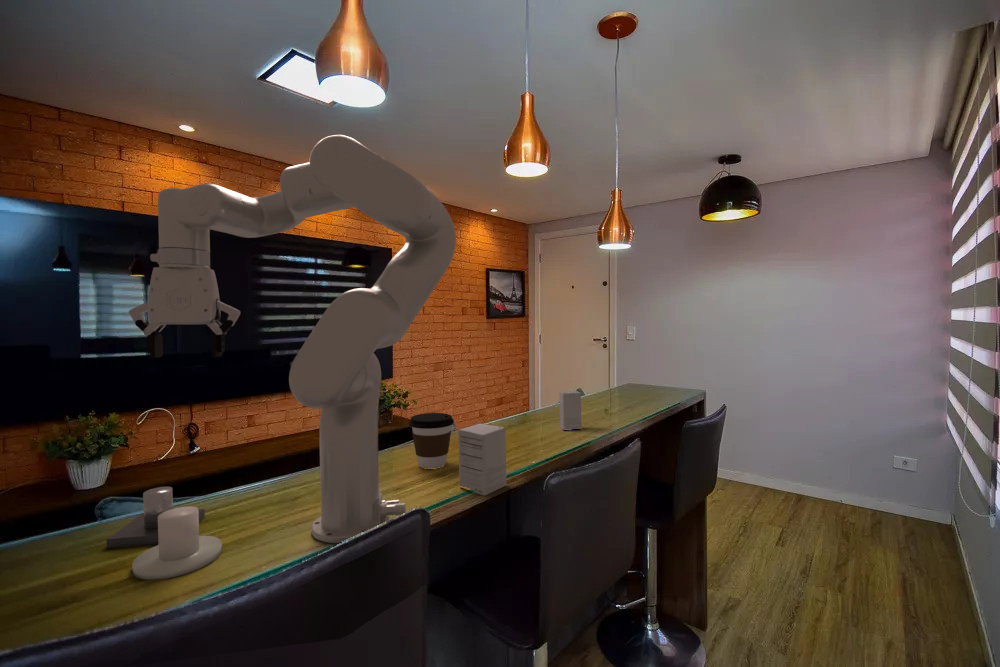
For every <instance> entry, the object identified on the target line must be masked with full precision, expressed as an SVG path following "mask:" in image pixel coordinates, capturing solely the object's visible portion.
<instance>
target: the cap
mask: <svg viewBox="0 0 1000 667" xmlns="http://www.w3.org/2000/svg"><path fill="white" fill-rule="evenodd" d="M198 509H199V508H198V507H197V506H192V505H191V506H181V507H175V508H173V509H171V510H168V511H165V512H163V513H161V514H160V515H159V516H158V544H157V545H159V559H160V560H161V561H175V560H180V559H184V558H186V557H189V556H191V555H193V554H195V553H196V552H197V551H198V550H199V536H200V522H199V513H198Z"/></svg>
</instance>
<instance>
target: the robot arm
mask: <svg viewBox="0 0 1000 667" xmlns="http://www.w3.org/2000/svg"><path fill="white" fill-rule="evenodd" d="M279 185H280V186H279V187H280V190H279V191H277V192H274V193H271V194H267V195H262V196H257V197H250V196H248V195H245V194H242V193H241V192H240V193H239V192H238V191H235V190H232V189H228V188H226V187H223V186H220V185H218V184H214V183H202V184H196V185H194V186H190V187H186V188H178V187H170V188H169V187H168V188H165V189H162V190H161V191H159V194H158V196H157V212H158V215H157V216H158V220H157V221H158V249H157V253H151V254H150V256H149V257H150V261H151V262H156V263H157V264H158V266H159V267H158V266H156V267H155V266H154V267H153V269H152V273H151V276H150V282H149V283H150V284H149V290H148V300H147V301H146V302H145V303H142V304H140V305H138V306H135V307H134V308H131V309H129V310H128V314H129V316H130V318H131V319H132V321H133V322H134V325H135V326H136V327H137V328H138V329H140V331H142V332H143V334H144V335H145V336H146V339H147V340H146V343H147V345H146V346H147V347H146V348H147V349H146V350H147V353H148V354H149V358H150V359H157V358H162V357H164V339H163V338H164V336H163V335H162V334H160V332H161V331H162V330H163V329H164V328H165V327H166V326H167V325H206V326H207V327H209V328H210V329H211V331H212V332H213V334H212V335H211V341H210V343H211V344H210V345H211V346H210V347H211V357H212V358H219V357H222V356H223V353H225V351H226V350H225V347H226V341H225V335H226V334H227V333H228V331H230V330H231V329H232V328H233V327H234V326H235V325H236V322H237V321H238V319H239V317H240V316H241V310H239V309H237V308H235V307H233V306H231V305H229V304H226V303H224V302H222V301H221V300H220V293H219V291H220V290H219V287H218V281H217V277H216V273H215V270H214V269H212V268H211V240H210V239H211V238H210V237H211V236H210V234H211V233H210V232H211V230H212V231H215V232H221V233H225V234H229V235H233V236H236V237H240V238H247V239H251V238H260V237H267V236H272V235H274V234H275V235H276V234H279V233H283V232H287V231H289V230H292V229H294V228H295V227H296V226H298V225H300V224H302V222H304V221H305V219H309V218H312V217H316V216H320V215H324V214H328V213H333V212H339V211H342V210H349V209H352V208H356V209H357V210H359V211H360V212H361V213H363V214H365V215H366V216H368V217H369V218H371V219H373V220H374V221H375V222H377V223H378V224H380V225H382V226H383V227H385V228H386V229H388V230H391V231H393V232H395V233H396V234H398V235H401V236H403V237H404V238H405V243H404V246H403V247H401V249H400V250H399V251H397V253H396V254H394V256H393V257H392V258H391V260H390V261H389V262H388V263H387V265H385V266H386V267H385V268H384V270H383V271H382V273H381V275H379V277H378V278H377V280H376V281H375V283H374V284H373V285H372V287H370V288H368V287H367V288H365V287H360V288H359V287H358V288H353V289H349V290H347V291H344V292H343V293H342V294H340V295H338V296H337V297H336V298H335V299H334V300H333V301H332V302H331V303H330V304H329V305H328V307H327V308H326V310H325V311H324V312H323V314H322V316H320V318H319V320H318V322H317V323H316V325H315V326H314V327H313V329H312V331H311V333H309V335H308V337H307V339H306V340H305V341H304V343H303V345H302V346H301V348H300V349H299V351H298V352H297V354H296V355H295V357H294V359H293V361H292V364H291V366H290V370H289V373H288V374H289V375H288V384H289V389H290V392H291V395H292V396H293V397H294V398H295V399H296V401H297V402H298V403H299V404H300V405H303V406H304V407H307V408H309V409H316V410H321V411H320V418H319V474H320V478H319V481H320V512H321V513H320V516H319V517H317V518H316V519H315V520H314V521H313V523H312V524H311V535H312V536H313V537H314V539H317V540H318V541H320V542H323V543H328V544H340V543H339V542H341V541H344V540H346V539H348V538H350V537H353V536H355V535H357V534H359V533H361V532H364V531H366V530H368V529H371V528H373V527H375V526H377V525H379V524H381V523H383V522H385V521H387V520H389V518H390V516H402V515H401V514H403V513H405V512H406V511H407V510H406V502H401V503H400V500H399V499H391V500H386V499H383V492H380V486H379V485H380V481H379V480H380V478H379V475H380V474H379V401H380V393H381V384H382V370H381V369H382V368H381V365H380V361H379V359H378V357H377V355H376V354H375V353H374V352H376V350H379V349H384V348H388V347H391V346H393V345H396V344H398V342H400V341H401V340H402V339H403V337H404V336H405V335H406V334H407V331H408V330H409V328H410V326H411V325H412V323H413V322H414V320H415V319H416V318H417V316H418V315H419V313H420V312H421V310H422V309H423V307H424V305H425V304H426V302H428V299H429V297H430V296H431V294H432V293H433V292H434V290H435V288H436V286H437V285H438V284H439V282H440V281H441V280H442V278H443V277H444V275H445V273H446V272H447V270H448V268H449V267H450V264H451V263H452V261H453V257H454V255H455V251H456V243H457V242H456V241H457V236H456V235H457V234H456V230H455V229H456V228H455V225H454V223H453V220H452V217H451V215H450V214H449V212H448V210H447V209H446V207H445V205H444V204H443V203H442V202H441V200H440V199H439V198H438V197H437V196H436V195H435V194H434V193H433V192H432V191H431V190H429V189H428V188H427V187H426V186H425V185H424V184H423V183H422V182H421V181H419V179H417V178H416V177H415V176H413V175H412V174H411V173H409V172H407V171H405V170H404V169H403V168H401V167H399V166H397V165H396V164H394V163H393V162H390V161H389V160H388V159H386V158H384V157H383V156H381V155H379V154H378V153H376V152H374V151H373V150H371V149H370V148H368V147H367V146H365V145H364V144H362V143H361V142H359V141H358V140H356V139H355V138H352V137H350V136H347V135H344V134H334V135H328V136H325V137H324V138H322V139H321V140H319V141H317V143H316V144H315V145H314V146H313V147H312V150H311V152H310V155H309V162H305V163H301V164H296V165H292V166H288V167H286V168H285V169H283V170H282V172H281V174H280V177H279ZM221 311H222V312H224V313H226V314H227V315H228V316H227V319H226V320H225V321H224V322H223V323H222V322H220V320H221ZM146 313H147V318H148V321H147V320H146V318H145V317H144V314H146Z"/></svg>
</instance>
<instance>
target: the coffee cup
mask: <svg viewBox="0 0 1000 667" xmlns="http://www.w3.org/2000/svg"><path fill="white" fill-rule="evenodd" d="M454 424H455V420H454V418H453V416H452V415H451V414H449V413H443V412H426V413H419V414H415V415H413V416H411V417H410V420H409V421H408V426H409V427H411V428H412V432H411V433H412V438H413V439H412V440H413V444H414V450H415V455H416V458H417V462H418V463H417V464H418V466H419V467H421V468H420V469H422V468H427V469H428V468H430V469H431V468H438V467H442V466H443V465H446V463H447V460H448V459H447V457H448V453H449V448H450V441H451V436H452V430H451V429H452V425H454ZM442 468H443V467H442Z"/></svg>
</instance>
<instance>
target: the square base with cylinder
mask: <svg viewBox="0 0 1000 667" xmlns="http://www.w3.org/2000/svg"><path fill="white" fill-rule="evenodd" d="M173 492H174V491H173V487H171V486H158V487H154V488H150V489H148V490H146V491H144V492H143V494H142V498H143V500H142V501H143V505H142V506H143V512H142V513H141V514H140V515H139V516H137V517H136V518H134V519H133V520H131V521H130V522H129V523H127V524H126V525H124V526H123V527H122V528H120V529H118V531H115V533H113V534H112V535H110V536H109V537H107V538H106V541H105V542H106V549H116V548H119V549H120V548H129V547H141V546H142V547H143V546H152V545H154V546H155V545H158V516H159V515H160V514H161V513H163V512H165V511H168V510H171V509H174V497H173V495H174V494H173ZM198 513H199V523H200V522H201V521H202V520H203V519H204V518H205V517H206V516H205V508H198Z"/></svg>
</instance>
